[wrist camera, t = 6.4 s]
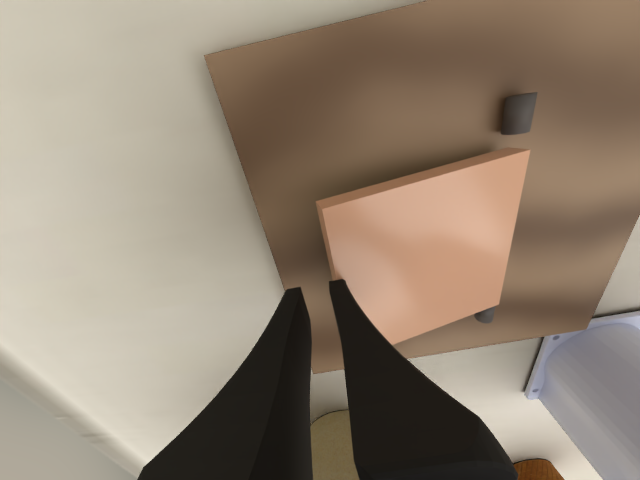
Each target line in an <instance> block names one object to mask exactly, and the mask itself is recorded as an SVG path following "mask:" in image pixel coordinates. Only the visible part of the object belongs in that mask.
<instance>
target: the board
mask: <svg viewBox="0 0 640 480" xmlns="http://www.w3.org/2000/svg"><path fill="white" fill-rule="evenodd" d="M204 57H205V60H206V63H207V66H208V69H209V72H210V74H211V77H212V80H213V83H214V86H215V89H216V92H217V95H218V98H219V101H220V104H221V106H222V109H223V112H224V115H225V118H226V121H227V124H228V127H229V130H230V133H231V135H232V138H233V141H234V144H235V147H236V150H237V153H238V156H239V159H240V162H241V165H242V167H243V170H244V173H245V176H246V179H247V182H248V185H249V188H250V191H251V194H252V196H253V199H254V202H255V205H256V208H257V211H258V214H259V217H260V220H261V223H262V226H263V228H264V231H265V234H266V237H267V240H268V243H269V246H270V249H271V252H272V255H273V257H274V260H275V263H276V266H277V269H278V272H279V275H280V278H281V281H282V284H283V287H284V289H285V291H286V290H287V289H290V288H295V287H301V290H302V293H303V296H304V300H305V303H306V306H307V310H308V313H309V316H310V320H311V334H312V354H311V368H312V371H313V374H317V373H323V372H329V371H335V370H341V369H344V362H343V353H342V345H341V340H340V336H339V331H338V327H337V323H336V318H335V314H334V310H333V305H332V301H331V297H330V292H329V281H333V279H332V275H331V270H330V266H329V261H328V256H327V252H326V247H325V243H324V238H323V233H322V229H321V224H320V220H319V215H318V210H317V206H316V201H319V200H322V199H326V198H329V197H333V196H336V195H340V194H343V193H347V192H351V191H354V190H358V189H361V188H365V187H368V186H372V185H376V184H379V183H383V182H386V181H390V180H393V179H397V178H400V177H404V176H408V175H411V174H415V173H418V172H422V171H425V170H429V169H433V168H436V167H440V166H443V165H447V164H450V163H454V162H458V161H461V160H465V159H468V158H472V157H475V156H479V155H482V154H486V153H490V152H493V151H497V150H500V149H504V148H507V147H510V148H520V149H531V150H530V155H529V160H528V165H527V170H526V174H525V179H524V184H523V189H522V194H521V199H520V204H519V209H518V214H517V218H516V223H515V228H514V233H513V238H512V243H511V248H510V253H509V257H508V262H507V267H506V272H505V277H504V282H503V287H502V292H501V297H500V301H499V305H496V306H493V307H491V308H488V309H486V310H483V311H480V312H478V313H475V314H472V315H470V316H467V317H464V318H462V319H459V320H457V321H454V322H451V323H449V324H446V325H443V326H441V327H438V328H436V329H433V330H430V331H428V332H425V333H422V334H420V335H417V336H415V337H412V338H409V339H407V340H404V341H401V342H399V343H396V344H394V345H392V346H393V347H394V348H395V349H396V350H397V351H398V352H400V353H401V354H402V355H403V356H404V357H405V358H406V359H409V358H415V357H421V356H427V355H433V354H439V353H446V352H452V351H458V350H464V349H470V348H476V347H482V346H488V345H495V344H501V343H507V342H513V341H519V340H525V339H531V338H537V337H544V336H550V335H556V334H562V333H568V332H574V331H580V330H586V329H587V327H588V325H589V323H590V321H591V318H592V316H593V314H594V312H595V310H596V308H597V306H598V303H599V301H600V299H601V297H602V295H603V293H604V290H605V288H606V286H607V284H608V282H609V280H610V278H611V275H612V273H613V271H614V269H615V267H616V265H617V262H618V260H619V258H620V256H621V254H622V252H623V250H624V247H625V245H626V243H627V241H628V239H629V237H630V235H631V232H632V230H633V228H634V226H635V224H636V222H637V219H638V217H639V215H640V0H428V1H424V2H420V3H416V4H412V5H408V6H404V7H400V8H396V9H391V10H387V11H383V12H379V13H375V14H371V15H367V16H363V17H359V18H355V19H351V20H347V21H343V22H338V23H334V24H330V25H326V26H322V27H318V28H314V29H310V30H306V31H302V32H298V33H294V34H289V35H285V36H281V37H277V38H273V39H269V40H265V41H261V42H257V43H253V44H249V45H245V46H241V47H236V48H232V49H228V50H224V51H220V52H216V53H212V54H208V55H204Z"/></svg>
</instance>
